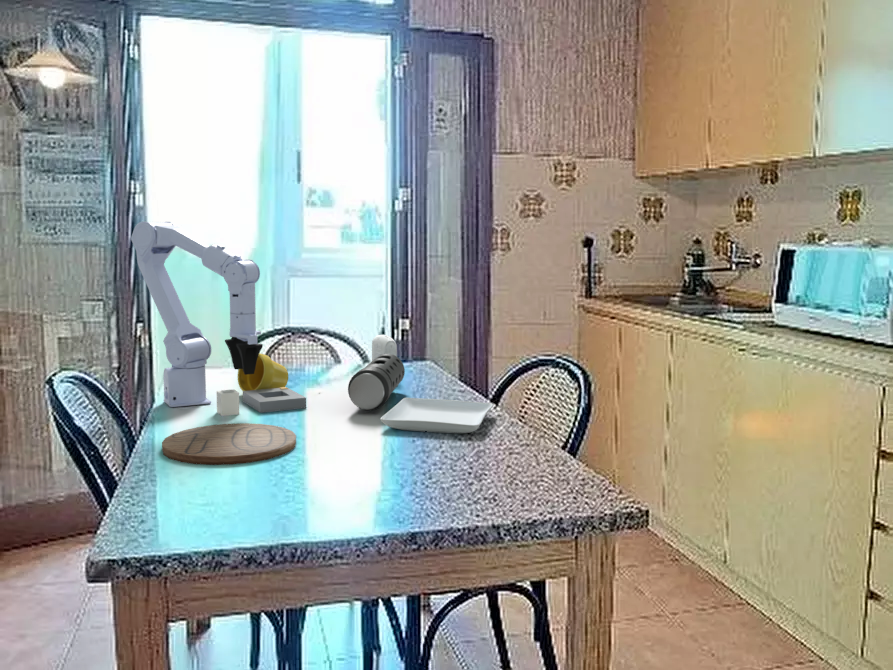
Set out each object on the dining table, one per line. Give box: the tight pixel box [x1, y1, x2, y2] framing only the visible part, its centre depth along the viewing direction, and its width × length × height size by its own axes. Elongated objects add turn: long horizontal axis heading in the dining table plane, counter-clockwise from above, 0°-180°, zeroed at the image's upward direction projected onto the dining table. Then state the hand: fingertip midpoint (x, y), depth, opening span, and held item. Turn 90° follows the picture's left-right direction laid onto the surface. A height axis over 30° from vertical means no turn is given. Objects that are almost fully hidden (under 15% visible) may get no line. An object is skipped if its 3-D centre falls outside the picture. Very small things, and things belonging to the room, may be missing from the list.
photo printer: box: [371, 334, 398, 365], centre depth 231 cm, size 10×4×12 cm, turn 28°
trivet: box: [161, 422, 297, 466], centre depth 159 cm, size 25×25×2 cm
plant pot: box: [237, 353, 289, 392], centre depth 209 cm, size 10×10×10 cm
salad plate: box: [380, 397, 494, 434], centre depth 180 cm, size 21×21×3 cm
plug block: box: [216, 389, 240, 417], centre depth 187 cm, size 4×4×5 cm
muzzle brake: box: [347, 354, 406, 411], centre depth 199 cm, size 10×28×10 cm, turn 174°
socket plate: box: [242, 386, 307, 414], centre depth 196 cm, size 11×14×3 cm
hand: (243, 371), depth 191 cm, fingers open, 7 cm apart
